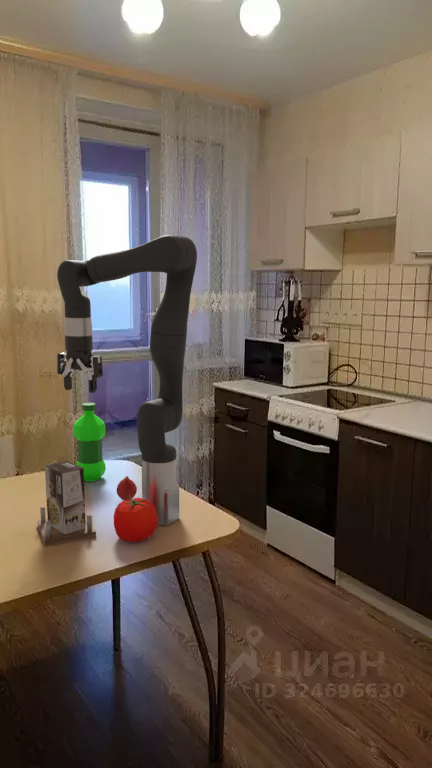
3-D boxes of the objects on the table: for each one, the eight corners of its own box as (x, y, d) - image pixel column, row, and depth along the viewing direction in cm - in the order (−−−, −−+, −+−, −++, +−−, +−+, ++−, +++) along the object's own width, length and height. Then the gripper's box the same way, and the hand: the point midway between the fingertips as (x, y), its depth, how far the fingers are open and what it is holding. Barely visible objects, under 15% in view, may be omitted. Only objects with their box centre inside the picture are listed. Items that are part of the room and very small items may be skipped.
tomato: (129, 525, 153) (128, 488, 151) (167, 533, 148) (166, 495, 146) (102, 543, 142) (101, 503, 140) (141, 553, 137) (141, 512, 136)
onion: (113, 503, 167) (112, 477, 166) (123, 497, 173) (122, 471, 171) (130, 506, 165) (130, 480, 164) (140, 500, 170) (140, 474, 169)
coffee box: (86, 528, 147) (85, 467, 144) (64, 535, 143) (61, 473, 140) (68, 517, 154) (66, 459, 151) (46, 524, 149) (43, 464, 146)
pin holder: (96, 537, 145) (95, 516, 144) (44, 546, 140) (43, 524, 139) (85, 518, 157) (85, 499, 156) (37, 526, 152) (36, 506, 151)
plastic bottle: (75, 485, 182) (72, 408, 178) (75, 474, 192) (72, 401, 188) (107, 483, 184) (105, 406, 180) (105, 472, 194) (104, 400, 190)
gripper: (107, 334, 160) (108, 391, 163) (67, 331, 166) (69, 386, 169) (90, 336, 153) (92, 395, 156) (49, 333, 159) (51, 391, 162)
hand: (80, 391), depth 162 cm, fingers open, 8 cm apart
